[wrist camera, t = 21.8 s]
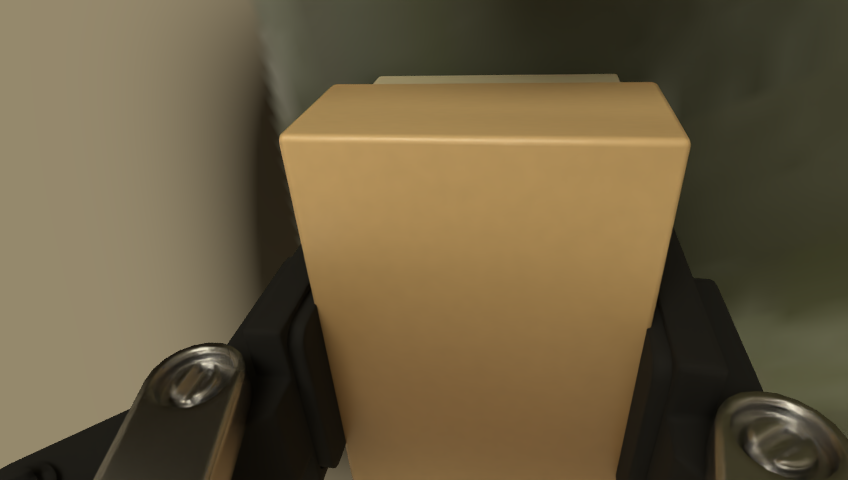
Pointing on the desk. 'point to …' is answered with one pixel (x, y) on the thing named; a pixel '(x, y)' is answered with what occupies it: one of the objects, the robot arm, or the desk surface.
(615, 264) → the tan rectangular brick
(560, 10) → the desk surface
